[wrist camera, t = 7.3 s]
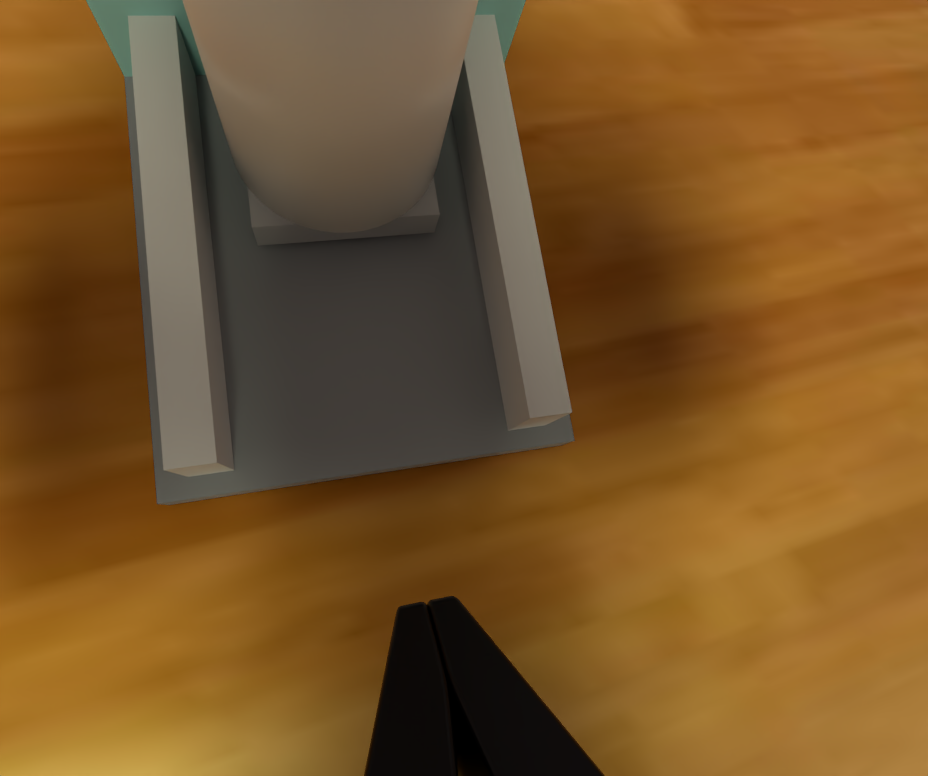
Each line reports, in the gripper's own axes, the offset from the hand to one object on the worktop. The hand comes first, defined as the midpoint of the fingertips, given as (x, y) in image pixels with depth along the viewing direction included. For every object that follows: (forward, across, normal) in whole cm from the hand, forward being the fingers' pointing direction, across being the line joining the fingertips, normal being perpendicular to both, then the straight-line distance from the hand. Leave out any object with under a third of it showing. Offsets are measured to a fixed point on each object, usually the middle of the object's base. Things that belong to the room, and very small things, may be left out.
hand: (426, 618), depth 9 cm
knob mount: (+11, 0, -2) cm, 12 cm away
